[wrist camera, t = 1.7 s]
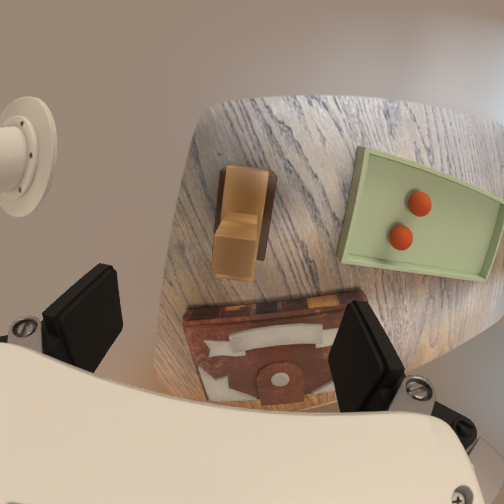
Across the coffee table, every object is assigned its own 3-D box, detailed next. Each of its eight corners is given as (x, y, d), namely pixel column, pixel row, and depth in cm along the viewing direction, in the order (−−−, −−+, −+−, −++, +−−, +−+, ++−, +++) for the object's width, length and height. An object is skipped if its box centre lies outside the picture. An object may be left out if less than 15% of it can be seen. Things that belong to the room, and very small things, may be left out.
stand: (220, 234, 31) (212, 254, 26) (228, 165, 28) (220, 169, 23) (263, 240, 32) (264, 261, 26) (274, 171, 29) (277, 176, 23)
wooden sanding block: (220, 261, 26) (201, 318, 17) (231, 163, 23) (212, 173, 14) (253, 265, 26) (250, 325, 17) (268, 168, 23) (272, 180, 14)
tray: (335, 255, 32) (340, 263, 30) (357, 146, 27) (365, 146, 25) (477, 276, 32) (486, 283, 30) (500, 199, 28) (509, 203, 25)
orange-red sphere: (382, 243, 30) (392, 252, 28) (389, 220, 29) (400, 227, 27) (402, 247, 31) (413, 256, 28) (408, 224, 29) (420, 231, 27)
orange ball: (401, 210, 29) (413, 217, 26) (407, 186, 28) (419, 191, 25) (420, 215, 29) (432, 221, 26) (425, 192, 28) (438, 197, 25)
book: (358, 285, 34) (371, 302, 29) (353, 371, 38) (361, 392, 34) (189, 304, 36) (178, 323, 31) (212, 386, 40) (207, 408, 35)
